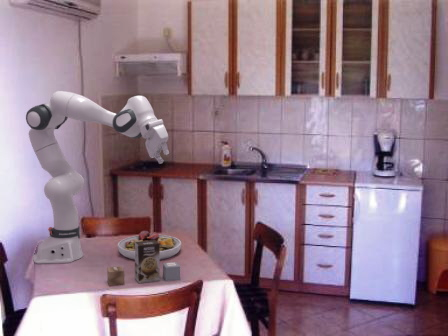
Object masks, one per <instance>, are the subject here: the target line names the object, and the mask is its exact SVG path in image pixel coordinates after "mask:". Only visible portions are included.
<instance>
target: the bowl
mask: <svg viewBox="0 0 448 336" xmlns="http://www.w3.org/2000/svg"><path fill="white" fill-rule="evenodd" d="M150 240H156V241H157V242H158V243H159V244H160V261H161V260H165V259H169V258H171V257H174V256H175V255H177V254H178V253H179V251H180V250H181V247H182V241H181V240H180V239H179V238H177V237H175V236H170V235H165V234H159V233H157V232H156V231H154V232H152V233H151V234H150V232H149V231H148V230H142V231H140V232H139V233H138V235H133V236H129V237H126V238H124V239H121V240H120V241H119V242H118V243H117V249H118V252H119V253H120V254H121V255H122V256H124V257H125V258H128V259H130V260H134V261H135V242H140V241H150Z"/></svg>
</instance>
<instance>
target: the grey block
mask: <svg viewBox="0 0 448 336" xmlns="http://www.w3.org/2000/svg"><path fill="white" fill-rule="evenodd" d="M162 278H163V279H164V281H165V282H173V281H181V265H180V264H179V263H178V262H177V261H174V262H173V261H172V262H163V263H162Z"/></svg>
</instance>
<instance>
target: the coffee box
mask: <svg viewBox="0 0 448 336" xmlns="http://www.w3.org/2000/svg"><path fill="white" fill-rule="evenodd" d="M160 261H161V260H160V244H159V243H158V242H157V241H156V240H150V241H140V242H135V260H134V279H135V281H137V283H138V284H144V283H152V282H158V281H159V282H160V278H161V277H160V273H161V272H160V267H161V266H160V263H161V262H160Z"/></svg>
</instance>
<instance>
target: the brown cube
mask: <svg viewBox="0 0 448 336" xmlns="http://www.w3.org/2000/svg"><path fill="white" fill-rule="evenodd" d="M106 271H107V273H106V274H107V276H106V277H107V283H108V286H109V287H115V286H125V269H124V268H123V266H122V265H119V266H109V267H107V270H106Z"/></svg>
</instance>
